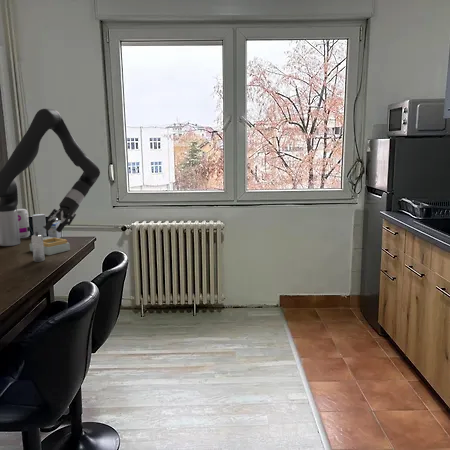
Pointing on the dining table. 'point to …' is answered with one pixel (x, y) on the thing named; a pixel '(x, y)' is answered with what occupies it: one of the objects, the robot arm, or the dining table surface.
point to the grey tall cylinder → (38, 247)
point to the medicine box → (54, 231)
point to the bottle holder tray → (53, 245)
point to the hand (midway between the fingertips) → (51, 230)
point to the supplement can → (23, 223)
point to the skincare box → (39, 224)
